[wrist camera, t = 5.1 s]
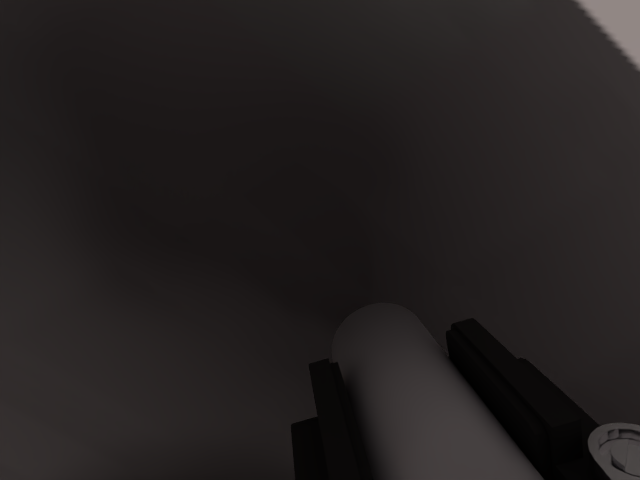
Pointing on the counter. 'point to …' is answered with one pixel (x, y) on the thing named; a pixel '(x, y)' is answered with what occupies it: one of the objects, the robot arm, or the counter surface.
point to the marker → (418, 404)
